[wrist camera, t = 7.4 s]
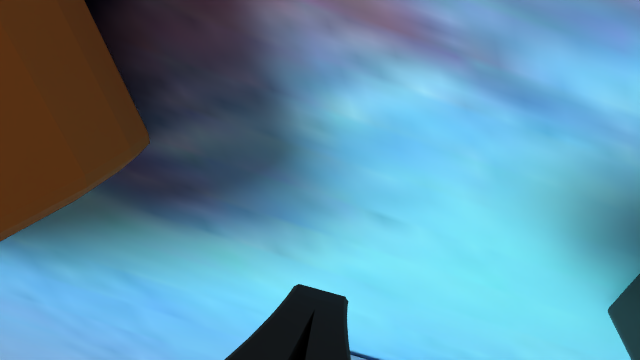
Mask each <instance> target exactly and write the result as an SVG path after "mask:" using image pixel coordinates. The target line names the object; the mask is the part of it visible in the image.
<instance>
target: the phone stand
mask: <svg viewBox="0 0 640 360" xmlns="http://www.w3.org/2000/svg"><path fill="white" fill-rule="evenodd" d="M608 313H609V315H610V317H611V319H612V322H613V324H614V326H615V328H616V330H617V332H618V334H619V336H620V338H621V340H622V342H623V344H624V346H625V348H626V350H627V352H628V354H629V356H630V358H631V360H640V274H639V275H638V276H637V277H636V278H635V279H634V281H633V282H632V283H631V284H630V285H629V286H628V287H627V288H626V289H625V291H624V292H623V293H622V294H621V295H620V296H619V297H618V298H617V300H616V301H615V302H614V303H613V304H612V305H611V306H610V307H609V309H608Z"/></svg>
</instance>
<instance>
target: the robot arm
mask: <svg viewBox="0 0 640 360" xmlns="http://www.w3.org/2000/svg"><path fill="white" fill-rule="evenodd" d="M347 306H348V300H347V299H346V297H344V296H341V295H337V294H333V293H330V292H326V291H322V290H319V289H315V288H312V287H308V286H304V285H301V284H298V285H296V286H294V287H293V289H292V290H291V292H290V293H289V294H288V296H287V297H286V298H285V299H284V301H283V302H282V303H281V304H280V306H279V307H278V308H277V309H276V310H275V311H274V312H273V313H272V315H271V316H270V317H269V318H268V319H267V320H266V321H265V322H264V323H263V324H262V325H261V326H260V327H259V328H258V329H257V330H256V331H255V332H254V333H253V334H252V335H251V336H250V337H249V338H248V339H247V340H246V341H245V342H244V343H243V344H241V345H240V346H239V347H238V348H237V349H236V350H235V351H234V352H233V353H231V354H230V355H229V356H228V357H227V358H226V359H225V360H367V359H363V358H360V357H356V356H353V355H350V350H349V342H348V330H347Z"/></svg>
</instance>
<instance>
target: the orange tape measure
mask: <svg viewBox="0 0 640 360" xmlns="http://www.w3.org/2000/svg"><path fill="white" fill-rule="evenodd" d="M149 143H150V141H149V134H148V132H147V130H146V127H145V125H144V123H143V121H142V119H141V117H140V115H139V113H138V111H137V109H136V107H135V105H134V103H133V101H132V98H131V96H130V94H129V92H128V90H127V88H126V86H125V84H124V82H123V80H122V78H121V76H120V74H119V72H118V70H117V67H116V65H115V63H114V61H113V59H112V57H111V55H110V53H109V51H108V49H107V47H106V45H105V43H104V41H103V38H102V36H101V34H100V32H99V30H98V28H97V26H96V24H95V22H94V20H93V18H92V16H91V14H90V12H89V9H88V7H87V5H86V3H85V1H84V0H0V241H2V240H4V239H6V238H7V237H9V236H11V235H13V234H15V233H17V232H18V231H20V230H22V229H24V228H26V227H28V226H29V225H31V224H33V223H35V222H37V221H39V220H40V219H42V218H44V217H46V216H48V215H50V214H51V213H53V212H55V211H57V210H59V209H61V208H62V207H64V206H66V205H68V204H70V203H72V202H73V201H75V200H77V199H78V198H80V197H81V196H83V195H84V194H86V193H87V192H89V191H90V190H92V189H93V188H95V187H96V186H98V185H99V184H101V183H102V182H104V181H105V180H107V179H108V178H110V177H111V176H113V175H114V174H116V173H117V172H119V171H120V170H121V169H122V168H124V167H125V166H126V165H127V164H128V163H130V162H131V161H132V160H133V159H134V158H136V157H137V156H138V155H139V154H140V153H141V152H142V151H143V150H144V149H145V148H146V147H147V145H148V144H149Z"/></svg>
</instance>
